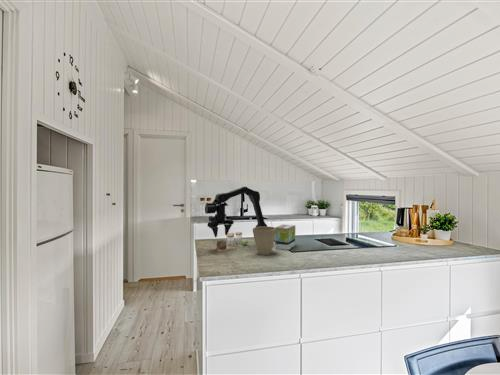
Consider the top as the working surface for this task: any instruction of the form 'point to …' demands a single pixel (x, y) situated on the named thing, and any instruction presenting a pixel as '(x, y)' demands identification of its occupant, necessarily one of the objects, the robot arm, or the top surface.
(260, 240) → the plant pot
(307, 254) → the top surface
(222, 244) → the token
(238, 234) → the jar
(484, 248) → the top surface
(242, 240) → the lime
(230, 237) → the jar
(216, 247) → the board
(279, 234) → the tea box
